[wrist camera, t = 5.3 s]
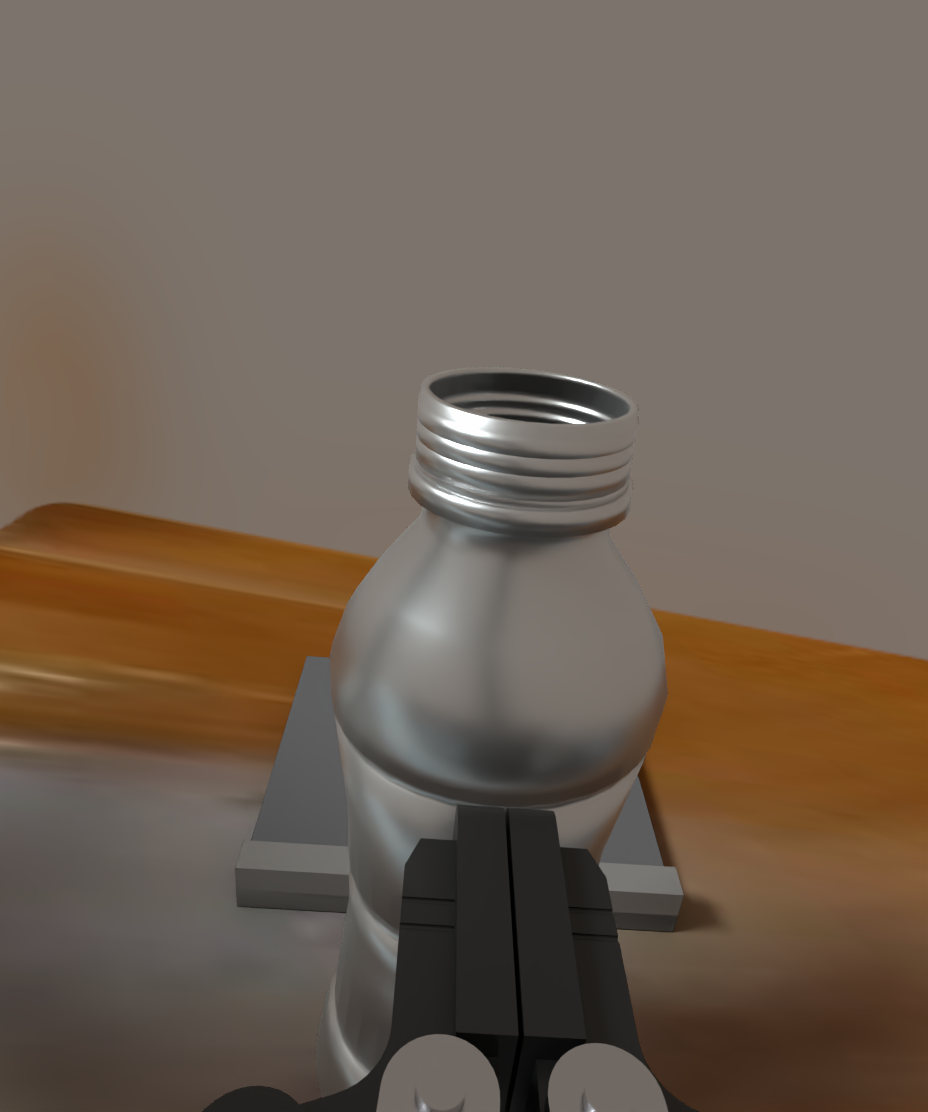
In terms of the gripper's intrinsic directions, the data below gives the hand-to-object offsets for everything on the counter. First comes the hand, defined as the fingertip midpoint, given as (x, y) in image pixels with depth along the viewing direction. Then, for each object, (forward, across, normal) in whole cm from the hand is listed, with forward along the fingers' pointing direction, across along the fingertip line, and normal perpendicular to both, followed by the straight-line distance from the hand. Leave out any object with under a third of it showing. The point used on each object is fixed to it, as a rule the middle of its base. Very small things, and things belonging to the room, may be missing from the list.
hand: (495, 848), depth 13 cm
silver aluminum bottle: (+4, 0, +14) cm, 15 cm away
